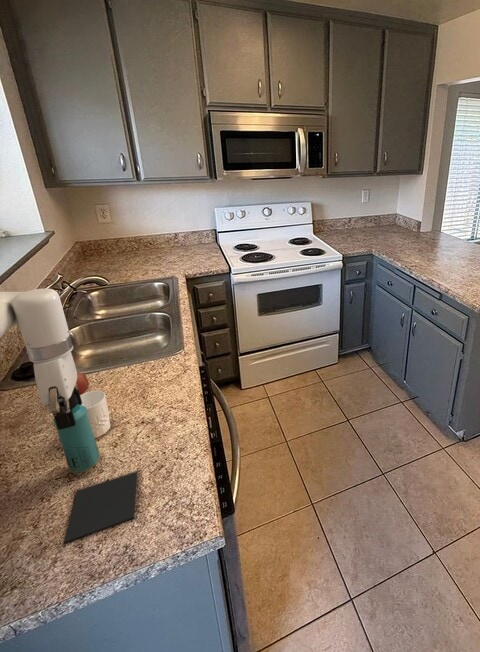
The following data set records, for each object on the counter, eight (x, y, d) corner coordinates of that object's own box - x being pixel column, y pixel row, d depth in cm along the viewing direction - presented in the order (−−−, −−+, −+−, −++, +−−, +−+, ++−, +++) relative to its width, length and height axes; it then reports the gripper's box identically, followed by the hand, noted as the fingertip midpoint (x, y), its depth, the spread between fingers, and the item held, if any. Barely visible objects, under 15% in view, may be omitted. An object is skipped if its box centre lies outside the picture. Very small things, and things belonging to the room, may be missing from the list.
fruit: (56, 408, 106) (47, 379, 102) (65, 392, 113) (57, 364, 110) (87, 402, 108) (79, 374, 105) (94, 386, 115) (87, 359, 112)
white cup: (76, 445, 92) (66, 413, 89) (82, 425, 99) (73, 395, 96) (111, 435, 95) (103, 404, 92) (114, 416, 102) (106, 387, 99)
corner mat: (65, 543, 69) (64, 542, 69) (77, 492, 79) (77, 490, 79) (134, 518, 73) (133, 516, 73) (137, 472, 84) (137, 471, 84)
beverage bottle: (106, 454, 89) (88, 386, 83) (94, 476, 83) (74, 405, 76) (77, 457, 88) (57, 390, 82) (63, 480, 82) (40, 409, 75)
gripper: (40, 332, 81) (60, 398, 87) (13, 373, 66) (39, 449, 72) (79, 326, 84) (96, 389, 90) (61, 363, 69) (83, 437, 75)
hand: (70, 415), depth 81 cm, fingers closed on beverage bottle, 6 cm apart
